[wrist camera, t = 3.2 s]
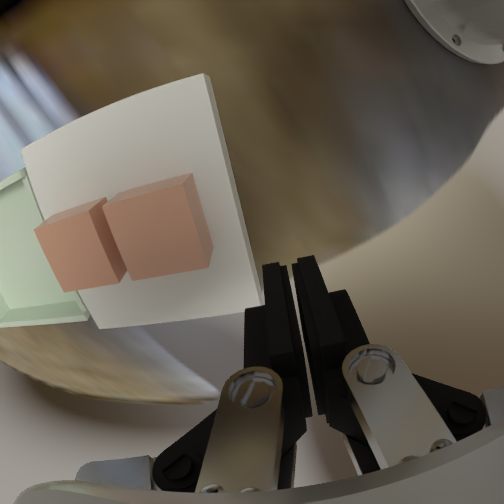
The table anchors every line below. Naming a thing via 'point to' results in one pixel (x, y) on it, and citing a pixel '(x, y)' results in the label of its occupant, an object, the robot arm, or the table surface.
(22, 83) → the table surface
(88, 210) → the tile
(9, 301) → the tray
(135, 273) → the tile
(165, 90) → the board
